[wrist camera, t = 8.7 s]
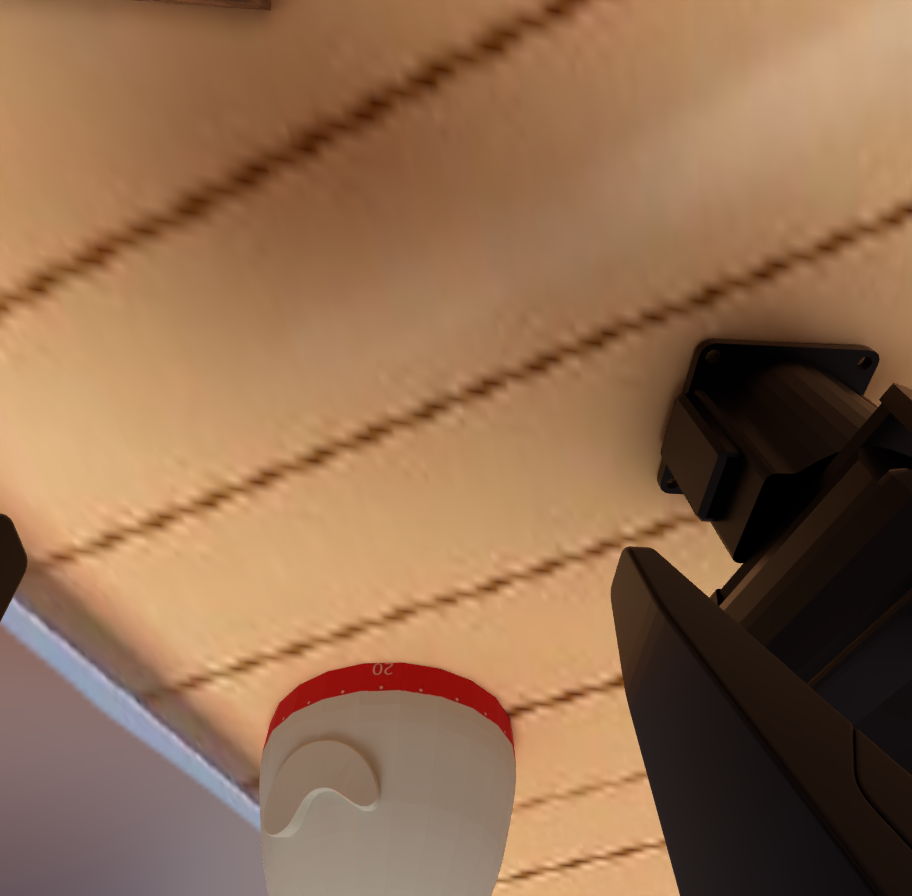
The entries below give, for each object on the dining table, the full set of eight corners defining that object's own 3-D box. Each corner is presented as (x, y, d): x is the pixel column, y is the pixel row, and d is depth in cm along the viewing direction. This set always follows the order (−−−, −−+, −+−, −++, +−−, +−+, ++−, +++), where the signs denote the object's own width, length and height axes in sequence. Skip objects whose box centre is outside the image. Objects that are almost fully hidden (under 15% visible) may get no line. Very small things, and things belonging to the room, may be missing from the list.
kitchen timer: (220, 706, 32) (74, 1121, 19) (448, 630, 29) (452, 1060, 16) (351, 820, 39) (307, 1181, 26) (546, 767, 36) (603, 1146, 23)
